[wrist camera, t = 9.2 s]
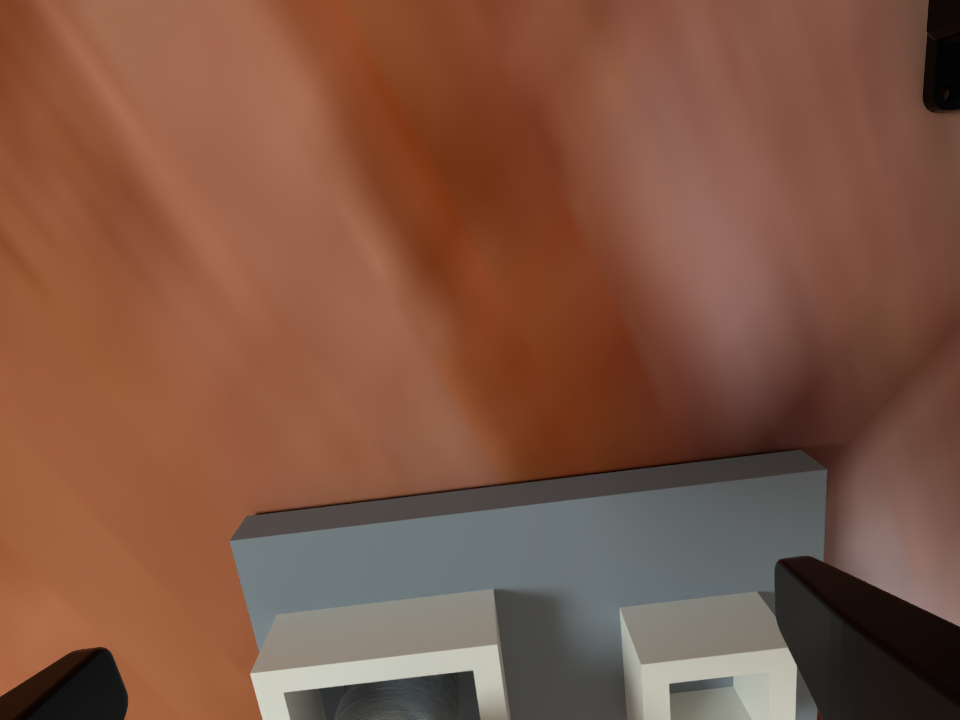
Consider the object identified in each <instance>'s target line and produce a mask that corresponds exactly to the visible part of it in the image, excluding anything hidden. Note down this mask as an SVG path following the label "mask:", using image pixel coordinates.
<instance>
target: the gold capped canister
mask: <svg viewBox="0 0 960 720" xmlns="http://www.w3.org/2000/svg"><path fill="white" fill-rule="evenodd" d="M459 712H460V685H459V679H458V675H457V673H456V672H454V673H446V674H437V675H429V676H420V677H412V678H403V679H395V680H386V681H378V682H369V683H361V684H352V685H344V686H343V687H342V691H341V695H340V699H339V703H338V707H337V711H336V715H335V719H334V720H459Z"/></svg>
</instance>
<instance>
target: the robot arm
mask: <svg viewBox="0 0 960 720" xmlns="http://www.w3.org/2000/svg"><path fill="white" fill-rule="evenodd" d="M945 85H946V86H947V88H948V90H949V94H948V97H947V99H946V100H944V99H943V97H942V90H943V88H944V86H945ZM923 103H924V105H925V107H926V108H927V109H928V110H930V111H931V112H946V111H954V110H960V0H929V6H928V20H927V46H926V59H925V72H924V86H923ZM774 586H775V616H776V621H777V625H778V627H779V630H780V632H781V635H782V637H783V639H784V641H785V643H786V645H787V647H788V649H789V651H790V653H791V655H792V657H793V659H794V661H795V663H796V665H797V667H798V670H799V672H800V674H801V676H802V678H803V680H804V682H805V684H806V686H807V688H808V690H809V692H810V694H811V696H812V698H813V700H814V702H815V704H816V707H817V709H818V711H819V713H820V715H821V717H822V719H823V720H960V627H959V626H957V625H955V624H953V623H951V622H949V621H947V620H944V619H942V618H940V617H938V616H936V615H934V614H932V613H930V612H928V611H926V610H923V609H921V608H919V607H917V606H915V605H913V604H911V603H909V602H907V601H904V600H902V599H900V598H898V597H896V596H894V595H892V594H890V593H888V592H886V591H883V590H881V589H879V588H877V587H875V586H873V585H871V584H869V583H867V582H865V581H862V580H860V579H858V578H856V577H854V576H852V575H850V574H848V573H846V572H843V571H841V570H839V569H837V568H835V567H833V566H831V565H829V564H827V563H825V562H822V561H820V560H818V559H816V558H814V557H811V556H798V557H790V558H782V559H779V560H778V561H777V562H776V564H775V569H774ZM127 707H128V694H127V691H126V688H125V686H124V683H123V680H122V678H121V675H120V673H119V670H118V668H117V665H116V663H115V660H114V658H113V655H112V654H111V652H110V651H109V650H108V649H106V648H103V647H97V648H89V649H81V650H76V651H73V652H71V653H69V654H67V655H66V656H64V657H62V658H61V659H59V660H58V661H56V662H55V663H53V664H51V665H50V666H48V667H47V668H45V669H44V670H42V671H40V672H39V673H37V674H36V675H34V676H32V677H31V678H29V679H28V680H26V681H25V682H23V683H21V684H20V685H18V686H17V687H15V688H14V689H12V690H10V691H9V692H7V693H6V694H4V695H2V696H1V697H0V720H124V718H125V715H126V712H127Z"/></svg>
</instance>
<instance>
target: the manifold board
mask: <svg viewBox="0 0 960 720" xmlns="http://www.w3.org/2000/svg"><path fill="white" fill-rule="evenodd" d="M826 489H827V469H826V468H825V467H824V466H822V465H821V464H820V463H818V462H817V461H816V460H814V459H813V458H812V457H810V456H809V455H808V454H806V453H805V452H804V451H802V450H794V451H785V452H777V453H769V454H761V455H752V456H744V457H736V458H727V459H719V460H711V461H702V462H694V463H686V464H677V465H669V466H661V467H652V468H644V469H636V470H627V471H619V472H611V473H603V474H594V475H586V476H578V477H569V478H561V479H553V480H544V481H536V482H528V483H519V484H511V485H503V486H494V487H486V488H478V489H469V490H461V491H453V492H445V493H436V494H428V495H420V496H411V497H403V498H395V499H386V500H378V501H370V502H361V503H353V504H345V505H336V506H328V507H320V508H311V509H303V510H295V511H287V512H278V513H270V514H262V515H253V516H246V518H245V519H244V521H243V522H242V524H241V525H240V526H239V528H238V529H237V531H236V532H235V534H234V535H233V537H232V538H231V540H230V545H231V548H232V552H233V556H234V560H235V563H236V567H237V571H238V575H239V578H240V582H241V586H242V590H243V593H244V597H245V601H246V605H247V609H248V612H249V616H250V620H251V624H252V627H253V631H254V635H255V639H256V642H257V646H258V650H259V655H258V657H257V660H256V662H255V664H254V666H253V668H252V671H251V673H250V675H251V678H252V682H253V685H254V689H255V693H256V696H257V700H258V704H259V707H260V711H261V715H262V718H263V720H334V719H335V715H336V711H337V707H338V703H339V699H340V695H341V691H342V687H343V686H344V685H352V684H361V683H369V682H378V681H386V680H395V679H403V678H412V677H420V676H429V675H437V674H446V673H454V672H456V673H457V675H458V679H459V685H460V712H459V720H817V707H816V704H815V702H814V700H813V698H812V696H811V694H810V692H809V690H808V688H807V686H806V684H805V682H804V680H803V678H802V676H801V674H800V672H799V670H798V667H797V665H796V663H795V661H794V659H793V657H792V655H791V653H790V651H789V649H788V647H787V645H786V643H785V641H784V639H783V637H782V635H781V632H780V630H779V627H778V625H777V621H776V616H775V586H774V569H775V564H776V562H777V561H778V560H779V559H782V558H790V557H798V556H811V557H814V558H816V559H818V560H820V561H822V562H823V561H824V537H825V513H826Z"/></svg>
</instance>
